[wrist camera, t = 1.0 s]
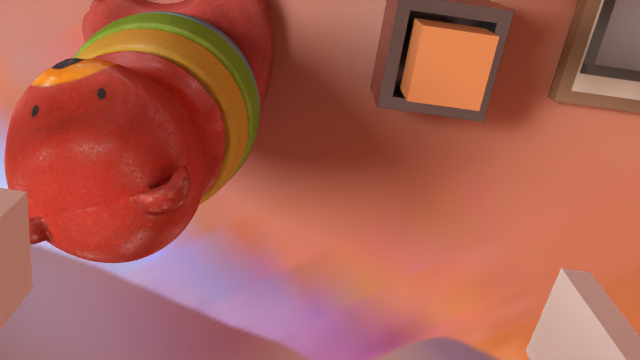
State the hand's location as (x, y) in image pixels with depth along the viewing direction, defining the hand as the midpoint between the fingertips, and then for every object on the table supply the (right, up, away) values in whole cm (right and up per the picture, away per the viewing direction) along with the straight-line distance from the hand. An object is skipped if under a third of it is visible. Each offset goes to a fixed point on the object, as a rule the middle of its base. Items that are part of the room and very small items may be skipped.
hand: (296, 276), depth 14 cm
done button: (+7, +9, +16) cm, 20 cm away
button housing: (+7, +10, +19) cm, 23 cm away
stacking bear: (-7, +9, +20) cm, 23 cm away
